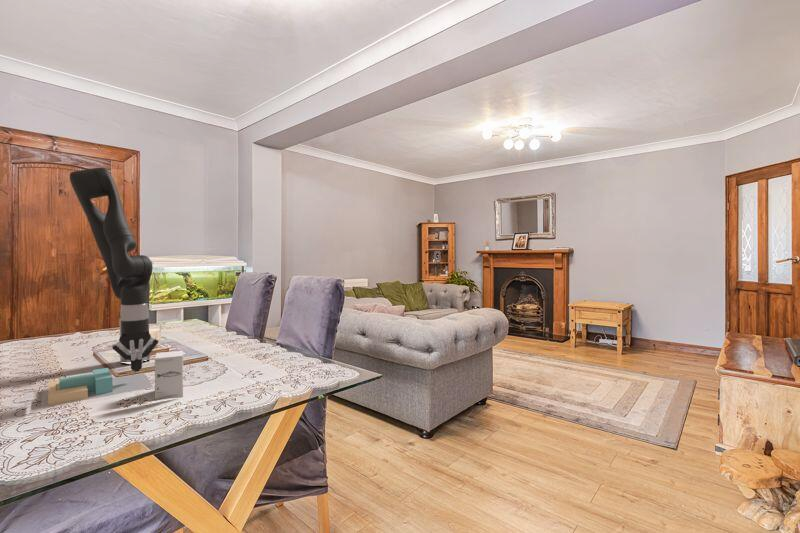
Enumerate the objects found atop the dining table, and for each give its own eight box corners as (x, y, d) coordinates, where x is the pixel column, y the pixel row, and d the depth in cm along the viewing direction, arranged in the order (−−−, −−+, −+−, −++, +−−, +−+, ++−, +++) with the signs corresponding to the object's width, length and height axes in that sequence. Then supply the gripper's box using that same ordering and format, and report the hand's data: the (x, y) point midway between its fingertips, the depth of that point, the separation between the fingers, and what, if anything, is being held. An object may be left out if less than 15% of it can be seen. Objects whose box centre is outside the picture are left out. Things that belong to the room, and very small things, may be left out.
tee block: (108, 381, 129) (108, 367, 128) (112, 391, 120) (112, 377, 119) (59, 389, 121) (59, 375, 121) (60, 401, 112) (59, 385, 111)
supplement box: (154, 401, 115) (153, 358, 114) (156, 393, 122) (155, 352, 121) (183, 397, 118) (182, 355, 118) (183, 389, 125) (183, 349, 124)
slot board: (144, 375, 138) (143, 365, 138) (153, 390, 124) (153, 379, 124) (43, 392, 121) (42, 381, 121) (40, 411, 107) (40, 398, 107)
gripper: (156, 313, 135) (157, 364, 136) (107, 318, 126) (109, 372, 127) (161, 316, 129) (162, 369, 130) (110, 322, 121) (112, 378, 122)
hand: (136, 370), depth 129 cm, fingers closed
